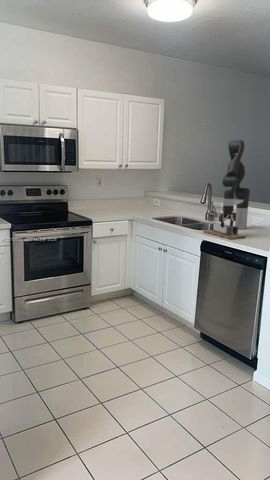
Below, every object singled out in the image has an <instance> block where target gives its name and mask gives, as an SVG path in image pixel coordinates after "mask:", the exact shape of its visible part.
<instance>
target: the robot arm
mask: <svg viewBox="0 0 270 480" xmlns="http://www.w3.org/2000/svg"><path fill="white" fill-rule="evenodd" d="M227 148H228V152H229V157H230V162H229V163H228V167H227V171H226V173H225V175H224V177H223V179H222V186H223V187H227V188H229V187H230V189H226V190H224V194H223V201H222V202H223V203H222V212H223V213H222V212H219V217H218V221H219V222H220V224H221V227H222V228H224V225H225V222H226V220H229V226H236V227H238V230H247V226H248V225H247V224H248V212H249V203H250V195H251V192H250V190H251V189H250V188H247V187H241V183H242V182H243V179H245V176H246V171H245V169H246V168H245V165H244V164H243V162H242V161H241V160H242V157H243V154H244V151H245V142H244V140H241V139H240V140H239V139H237V140H229V142H228V147H227ZM235 198H236V199H237V200H243V201H241V202H240V203H236V207H235ZM234 207H235V212H234ZM234 222H235V223H234Z"/></svg>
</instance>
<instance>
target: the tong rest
mask: <svg viewBox="0 0 270 480" xmlns="http://www.w3.org/2000/svg"><path fill="white" fill-rule="evenodd" d="M214 224H216V222H213V223H212V228H213V227H214ZM203 232H204V233H203ZM202 233H203V234H206V233H207V235H210V234H211V236H215V237H219V238H223V239H227V240H230V241H232V240H233V241H234V240H242V239H243V240H244V239H246V237H247V236H246V235H242V234H239V233H238V234H234V233H231V235H228V234H225V233H222V232H218V231H215V230H213V229H209V230H203V231H202Z"/></svg>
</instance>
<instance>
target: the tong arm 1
mask: <svg viewBox="0 0 270 480" xmlns="http://www.w3.org/2000/svg"><path fill="white" fill-rule="evenodd" d="M219 224H220V223H218V224H214V227H213V226H212V230H215V231H218V232H222V233H225V234H228V235H231V227H227V226H224V228H222V227H221V225H219Z"/></svg>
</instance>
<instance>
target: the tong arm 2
mask: <svg viewBox="0 0 270 480" xmlns="http://www.w3.org/2000/svg"><path fill="white" fill-rule="evenodd" d="M215 223H216V222H215ZM216 224H219V225H221V223H216ZM224 226H227V227H231V233H234V234H239V229H238V227H236V226H235V225H233V226H230V224H229V225H228V224H224Z"/></svg>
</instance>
